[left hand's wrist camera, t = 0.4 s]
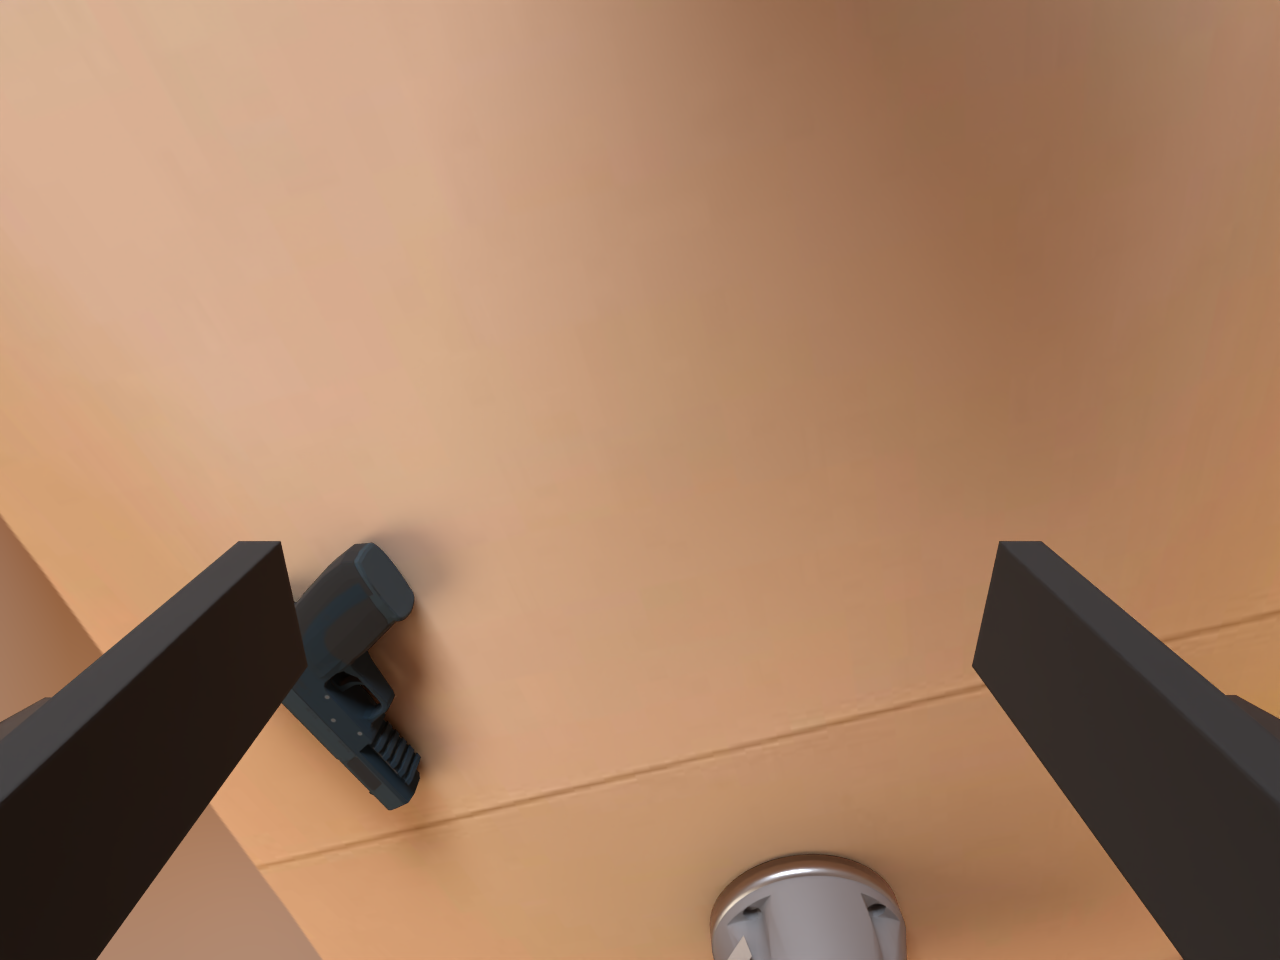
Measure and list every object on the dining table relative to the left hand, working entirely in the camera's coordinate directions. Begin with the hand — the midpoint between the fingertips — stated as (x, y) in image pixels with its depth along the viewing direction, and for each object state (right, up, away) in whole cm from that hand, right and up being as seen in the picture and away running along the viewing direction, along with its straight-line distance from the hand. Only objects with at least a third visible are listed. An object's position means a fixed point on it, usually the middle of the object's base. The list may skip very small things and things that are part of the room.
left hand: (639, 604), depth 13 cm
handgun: (-18, -10, +34) cm, 39 cm away
